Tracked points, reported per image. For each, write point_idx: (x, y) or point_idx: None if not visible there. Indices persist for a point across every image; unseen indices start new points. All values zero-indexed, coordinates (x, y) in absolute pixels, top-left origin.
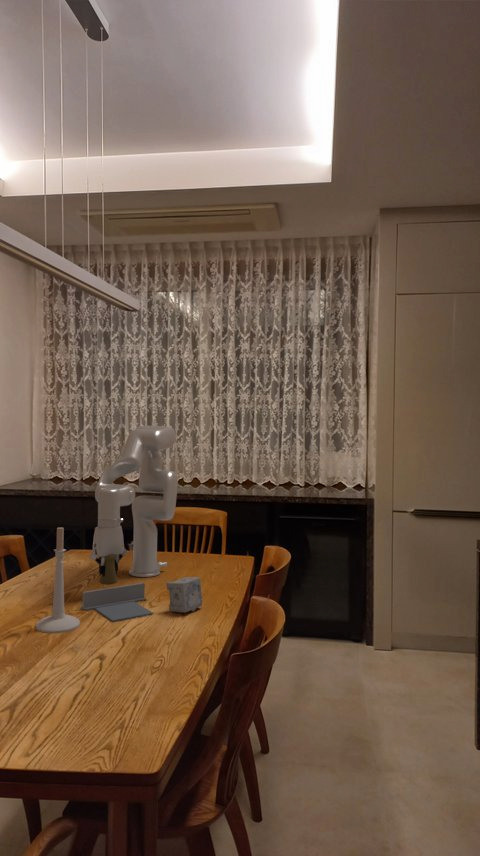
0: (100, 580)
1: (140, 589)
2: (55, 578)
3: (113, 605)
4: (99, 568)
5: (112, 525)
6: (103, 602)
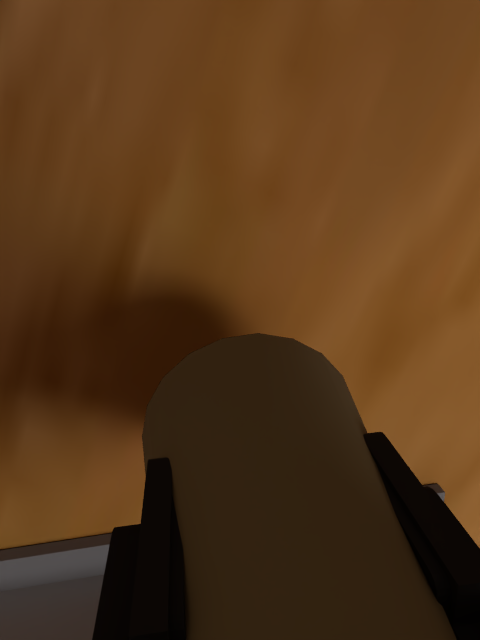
0: (144, 461)
1: None
2: None
3: None
4: (104, 611)
5: None
6: None
